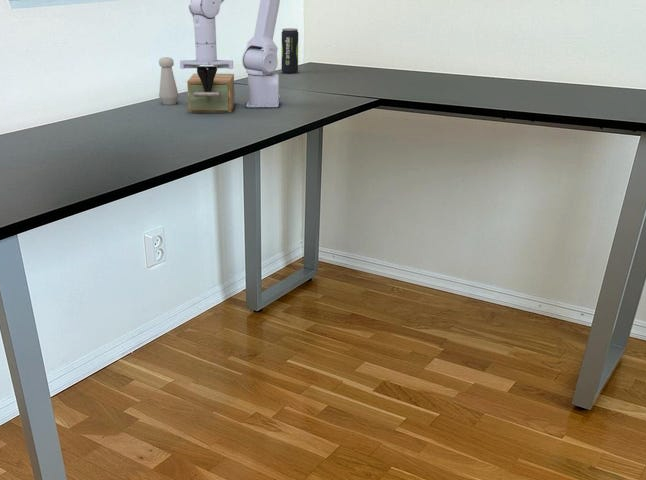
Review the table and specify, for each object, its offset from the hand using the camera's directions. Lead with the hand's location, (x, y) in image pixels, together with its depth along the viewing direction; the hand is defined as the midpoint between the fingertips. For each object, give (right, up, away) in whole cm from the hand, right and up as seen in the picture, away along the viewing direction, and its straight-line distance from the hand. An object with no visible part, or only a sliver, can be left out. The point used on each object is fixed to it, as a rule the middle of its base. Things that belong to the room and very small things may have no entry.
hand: (208, 96), depth 197 cm
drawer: (0, -1, +7) cm, 7 cm away
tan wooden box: (0, +1, +11) cm, 11 cm away
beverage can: (+25, +35, +69) cm, 81 cm away
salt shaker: (-13, +4, +17) cm, 22 cm away
